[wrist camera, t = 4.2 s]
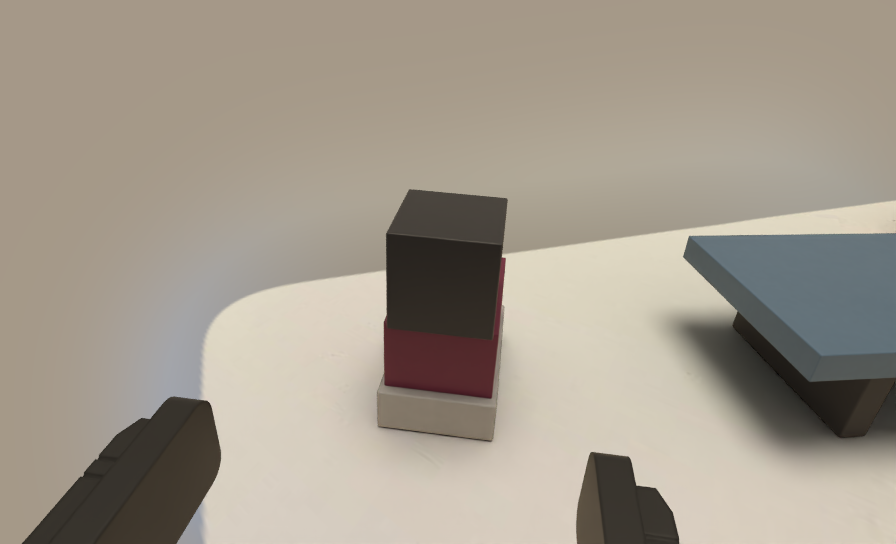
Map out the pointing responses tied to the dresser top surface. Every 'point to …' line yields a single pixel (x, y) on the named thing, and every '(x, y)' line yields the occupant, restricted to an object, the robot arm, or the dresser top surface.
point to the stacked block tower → (443, 315)
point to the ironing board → (814, 313)
